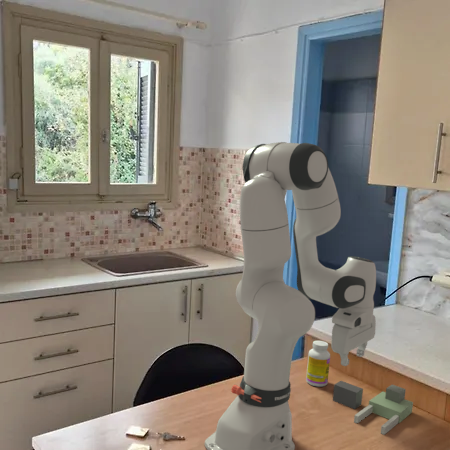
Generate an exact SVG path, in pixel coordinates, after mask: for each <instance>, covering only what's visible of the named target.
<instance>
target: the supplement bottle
mask: <svg viewBox="0 0 450 450" xmlns="http://www.w3.org/2000/svg"><path fill="white" fill-rule="evenodd" d="M328 348H329V343H328V342H326V341H325V340H314V341H313V342H312V348H311V349H309V351H308V356H307V357H308V358H307V367H306V377H305V381H306V383H307V384H308V385H310V386H312V387H325V386H327V385H328V381H329V371H330V364H331V363H330V362H331V353H330V351H329V350H328Z"/></svg>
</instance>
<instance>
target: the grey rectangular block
mask: <svg viewBox="0 0 450 450" xmlns="http://www.w3.org/2000/svg"><path fill="white" fill-rule="evenodd" d="M363 392H364V389H363V388H362V387H360V386H357V385H354V384H351V383H348V382H347V381H343V380H339V381H338V382H336V383H334V384H333V394H332V402H336V403H337V402H338V404H340V405H342V404H343V405H342V406H345V407H347V406H348V407H347V408H350V409H352V408H353V410H356V409H357V408H360V407H361V406H362V401H363V400H362V399H363ZM360 405H361V406H360Z"/></svg>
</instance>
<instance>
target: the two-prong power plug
mask: <svg viewBox="0 0 450 450" xmlns="http://www.w3.org/2000/svg"><path fill="white" fill-rule="evenodd" d="M405 396H406V388H403V387H400V386H398V385H396V384H390V385H389V386H387V387H386V390H385V391H381V392H380V393H378V394H377V395H375V396H373V397H372V398H371V399H369V400H368V405H366V406H365V407H363V409H361V410H360V411H359V412H357V413H355V414H354V418H353V419H354V420H353V423H355V424H357V423H358V424H359V423H360V422H362V421H363V420H364V419H366V418H367V417H368V416H369V415H371V414H372V413H373V414H374V415H377V416H380V417H382V418H385V419H388V420H387V421H386V422H385V423H384V424H382V425H381V427H380V434H381V435H384V436H385V435H386V434H387V433H388V432H390V431H391V430H392V429H393V428H394V427H395V426H396V425H398V424H400V423H401V422H403V421H404V420H405V419H406V418H408V417H409V415H411V414H412V413H413V408H414V407H413V405H414V402H413V401H411V400H407V399H405V398H406V397H405ZM365 417H366V418H365ZM361 420H362V421H361Z"/></svg>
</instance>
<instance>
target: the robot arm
mask: <svg viewBox="0 0 450 450" xmlns="http://www.w3.org/2000/svg"><path fill="white" fill-rule="evenodd" d="M328 160H329V159H328V158H327V155H326V154H325V151H324V150H323V149H322V148H321V147H320V146H319V145H317V144H313V143H309V142H303V143H296V142H285V141H281V142H273V143H261V144H257V145H255V146H252V147H250V148H249V149H248V150H247V151H246V153H245V155H244V158H243V161H242V174H243V181H244V184H243V185H242V187H241V188H240V197H239V220H240V221H239V223H240V232H241V240H242V249H243V268H242V276H241V279H240V280H239V282H238V283H237V286H236V289H235V299H236V302H237V303H238V305H239V306H240V308H241V309H242V310H243V312H244V313H245V314H246V315H247V316H249V317H250V318H252V319H253V320H255V321H257V325H258V327H257V328H258V329H257V331H256V335H255V337H254V340H253V341H251V342H250V343H249V344H248V345H247V347H246V349H245V356H244V357H245V359H244V371H243V376H242V377H241V378H242V379H241V381H240V382H239V386H238V385H237V384H233V385H232V387H231V389H230V390H231V391H230V392H231V393H232V394H235V395H237V396H236V397H235V398H234V400H233V401H232V402H231V404H230V405H229V406H228V407H227V409H226V410H225V411H224V412H223V414H222V415H221V416H220V418H219V419H218V421H217V425H216V429H215V431H214V432H213V433H212V434H211V435H209V436H208V437H206V439H205V440H204V446H205V448H206V450H295V449H296V445H295V443H294V442H293V439H292V438H293V437H292V435H293V433H292V432H293V431H292V430H293V428H292V427H293V425H292V419H293V417H292V416H293V415H292V411H291V409H290V403H289V400H290V396H291V390H292V388H291V385H292V384H291V381H290V375H291V367H292V358H293V353H294V350H295V347H296V346H297V343H298V341H299V339H300V338H301V337H303V336H304V335H306V334H307V333H309V331H310V330H311V328H312V327H313V324H314V322H315V319H316V308H315V306H314V304H313V303H312V301H316V302H319V303H322V304H325V305H327V306H331V307H333V308H336V309H337V311H336V312H335V313H334V314H333V315H332V317H331V318H332V319H331V323H332V324H333V326H332V331H331V345H330V346H331V350H332V351H333V353H336V354H339V356H340V357H339V358H340V365H341V366H344V367H347V366H348V365H349V364H350V359H349V357H348V356H349V352H351V351H352V350H355V349H356V348H357V349H356V356H357V357H359V358H361V357H364V356H365V352H366V349H367V346H368V342H369V341H371V340H373V339H374V338H375V335H376V326H377V325H376V317H375V315H374V307H375V301H374V295H375V291H376V286H377V268H376V264H375V262H374V261H372V260H370V259H367V258H363V257H360V256H354V255H352V256H348V257H347V260H346V262H345V264H343V265H342V266H341V267H340V268H338V269H332V268H329V267H326V266H324V265H323V264H322V263H321V262H320V261H319V257H318V256H319V255H318V248H317V237H318V236H322V235H324V234H326V233H328V232H330V231H331V230H333V229H334V228H335V227H336V225H338V223H339V221H340V219H341V215H342V213H341V210H342V209H341V203H340V199H339V193H338V190H337V187H336V183H335V181H334V177H333V176H332V172H331V170H330V168H329V161H328ZM288 191H291V193H292V201H293V204H294V207H295V213H296V217H295V219H294V222H293V226H292V227H293V228H292V232H293V234H292V235H293V243H294V250H295V259H296V260H295V261H296V271H297V273H296V287H297V288H294V287H293V286H291V285H288V284H286V283H285V281H284V269H285V265H286V263H287V262H288V261H289V260H290V259H291V256H292V247H291V246H292V245H291V236H290V224H289V214H288V209H287V204H286V203H287V202H286V196H287V192H288ZM311 300H312V301H311Z"/></svg>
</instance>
